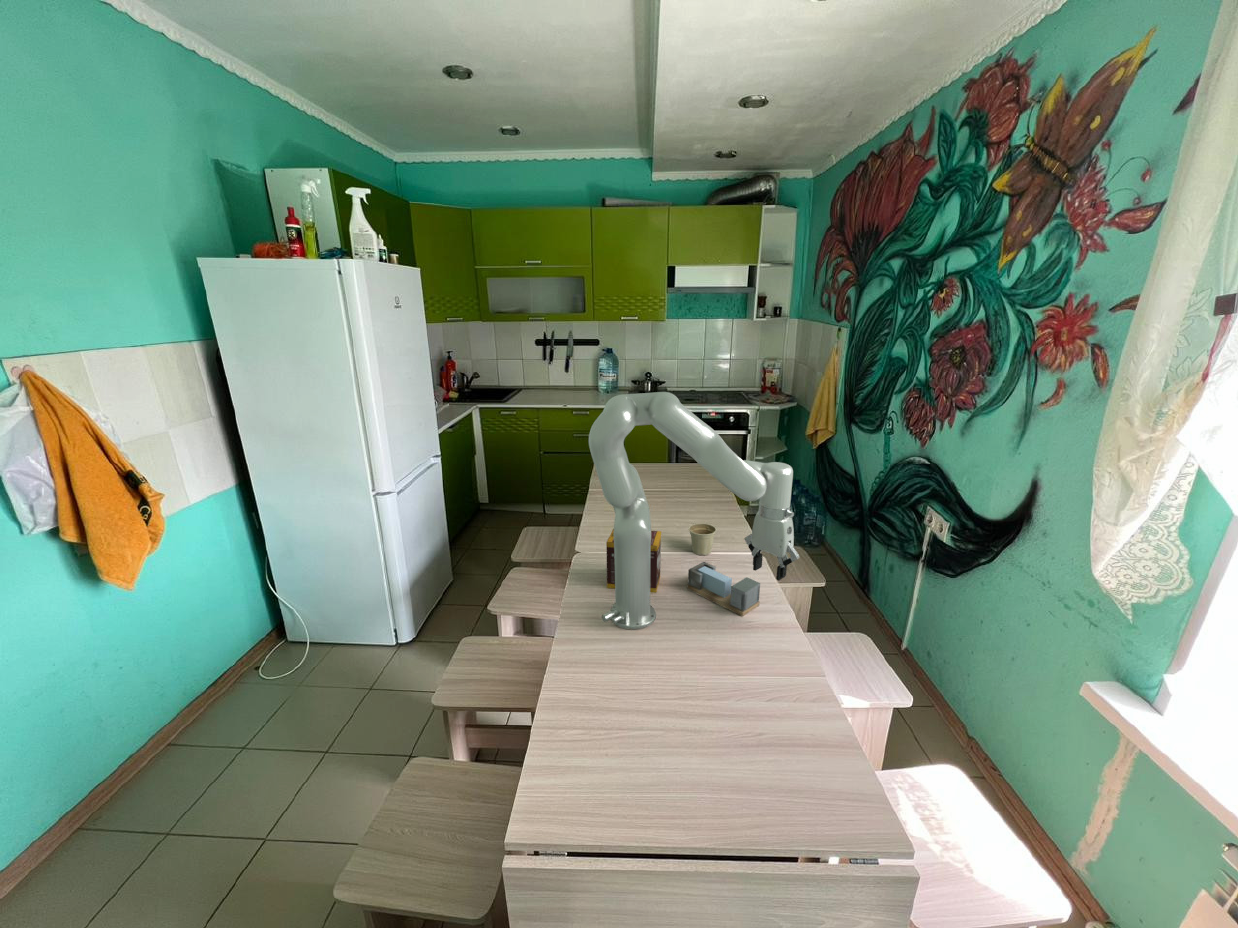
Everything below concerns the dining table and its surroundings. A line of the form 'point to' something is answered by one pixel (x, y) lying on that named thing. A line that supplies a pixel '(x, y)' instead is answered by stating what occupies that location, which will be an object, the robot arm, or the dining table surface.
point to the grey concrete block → (745, 594)
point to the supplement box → (654, 561)
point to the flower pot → (702, 538)
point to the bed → (696, 587)
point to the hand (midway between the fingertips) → (768, 572)
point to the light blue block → (715, 582)
